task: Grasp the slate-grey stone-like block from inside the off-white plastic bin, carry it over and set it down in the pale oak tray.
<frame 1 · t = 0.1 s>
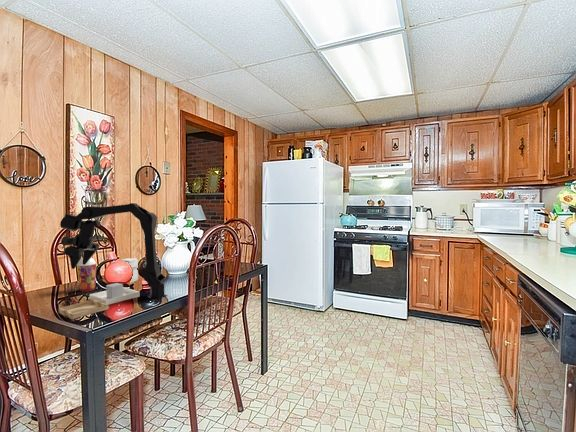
hand: (78, 266, 144), 15 cm above the table, tool pointing down, fingers open, 9 cm apart
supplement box: (128, 281, 177), on the table
smoothie: (87, 290, 160), on the table
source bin: (115, 298, 147), on the table
stone block: (115, 297, 147), resting on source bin
oak tray: (84, 311, 130), on the table
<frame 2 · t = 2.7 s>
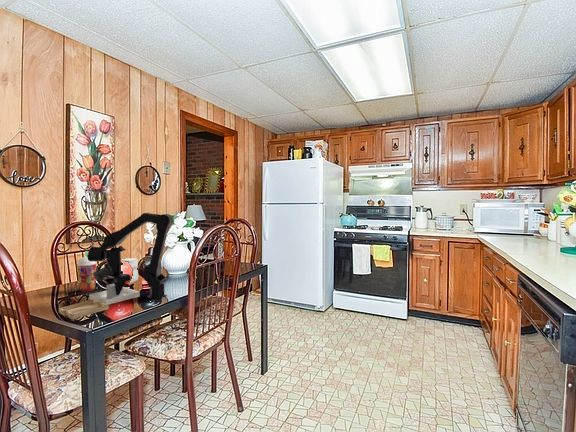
hand: (114, 294, 147), 2 cm above the table, tool pointing down, fingers closed on stone block, 5 cm apart
stone block: (115, 297, 147), resting on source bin, touching gripper
everything else where it was.
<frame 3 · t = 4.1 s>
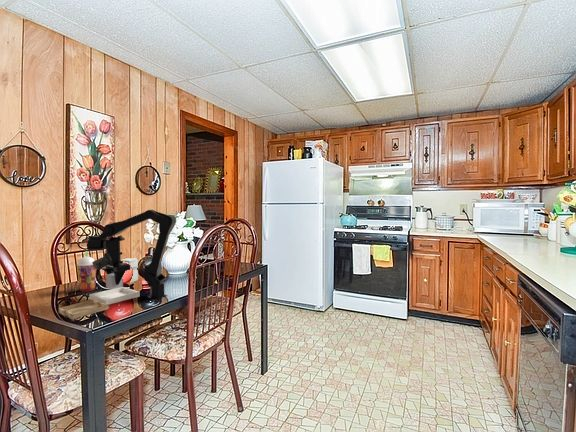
hand: (114, 283, 146), 7 cm above the table, tool pointing down, fingers closed on stone block, 5 cm apart
stone block: (114, 287, 147), point 5 cm above the table, touching gripper
everything else where it was.
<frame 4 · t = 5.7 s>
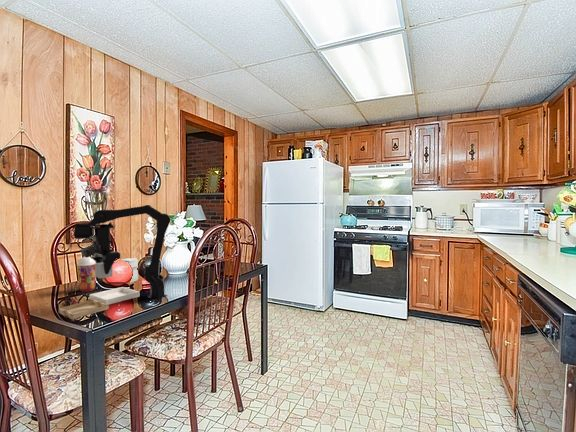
hand: (103, 273, 140), 13 cm above the table, tool pointing down, fingers closed on stone block, 5 cm apart
stone block: (103, 276, 140), point 12 cm above the table, touching gripper
everything else where it was.
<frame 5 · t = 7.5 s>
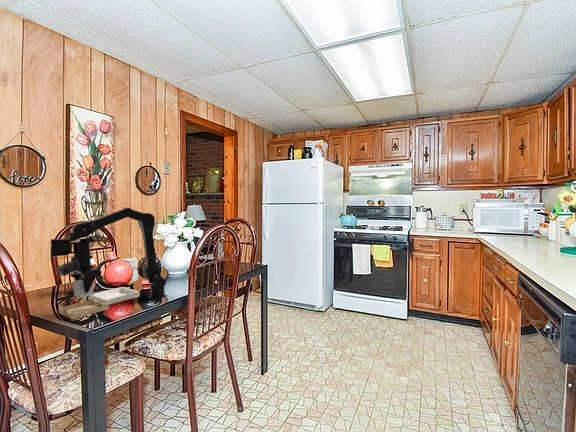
hand: (83, 291, 129), 8 cm above the table, tool pointing down, fingers closed on stone block, 5 cm apart
stone block: (83, 295, 129), point 7 cm above the table, touching gripper
everything else where it was.
when the fingers open (4 cm above the table, at t = 9.0 s): stone block drops 2 cm, resting on oak tray.
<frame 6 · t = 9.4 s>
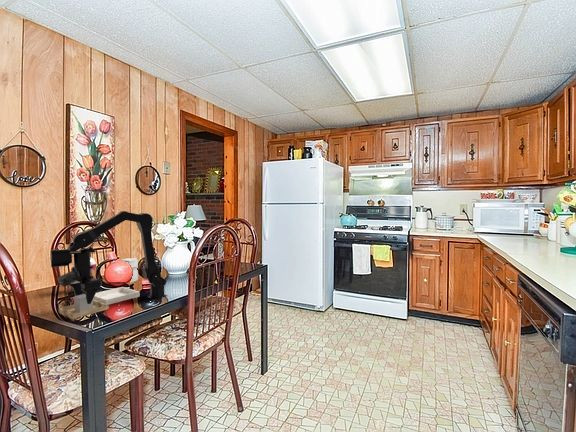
hand: (83, 301, 130), 4 cm above the table, tool pointing down, fingers open, 9 cm apart
stone block: (84, 310, 130), resting on oak tray
everything else where it was.
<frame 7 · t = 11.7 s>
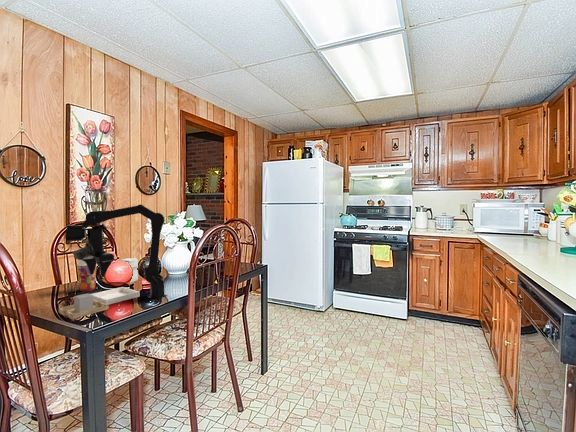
hand: (97, 275, 138), 13 cm above the table, tool pointing down, fingers open, 9 cm apart
nothing on the table moved.
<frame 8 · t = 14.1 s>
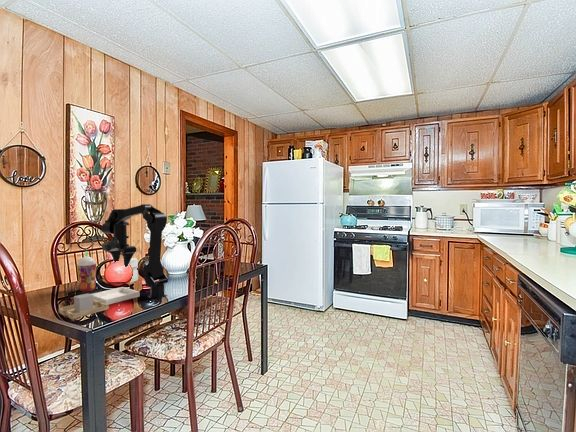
hand: (121, 265, 158), 13 cm above the table, tool pointing down, fingers open, 9 cm apart
nothing on the table moved.
at the end: stone block inside the target area on the oak tray (0.0 cm from its centre), point 0.5 cm above the oak tray's base; the gripper is holding nothing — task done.
